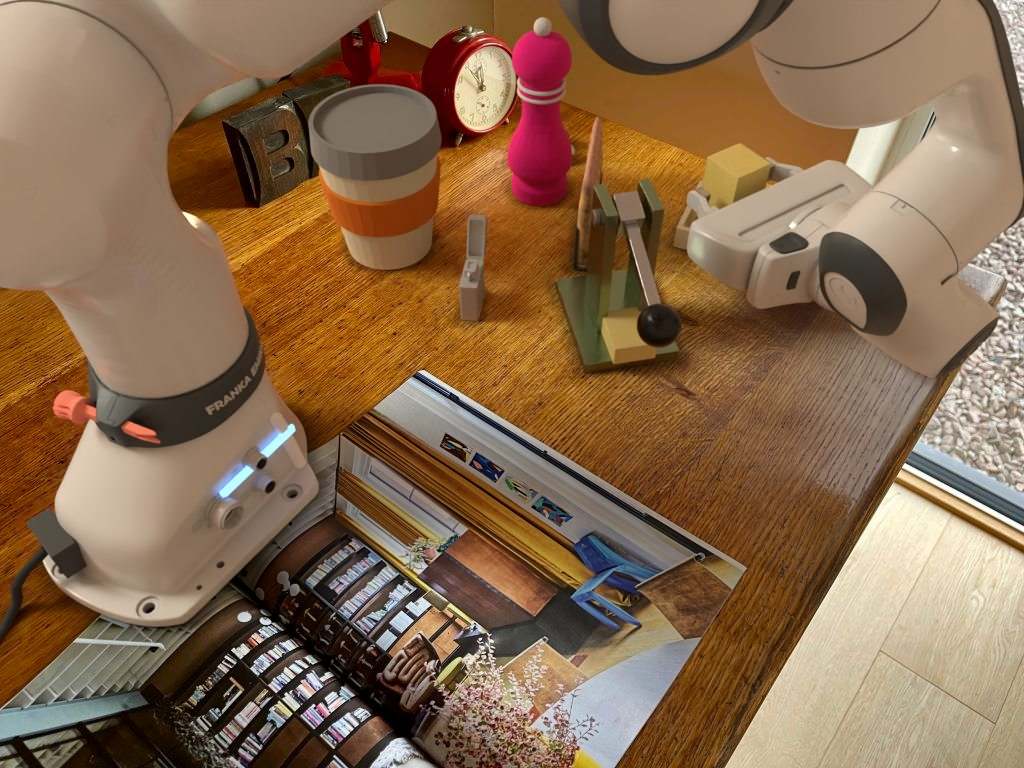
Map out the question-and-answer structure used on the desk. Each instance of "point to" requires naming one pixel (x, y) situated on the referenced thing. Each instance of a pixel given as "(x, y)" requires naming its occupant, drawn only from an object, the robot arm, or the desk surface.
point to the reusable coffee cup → (379, 170)
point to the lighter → (473, 268)
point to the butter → (734, 175)
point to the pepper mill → (540, 117)
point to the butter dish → (685, 226)
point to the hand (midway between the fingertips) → (726, 179)
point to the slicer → (610, 280)
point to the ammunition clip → (588, 197)
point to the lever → (645, 276)
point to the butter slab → (625, 336)
